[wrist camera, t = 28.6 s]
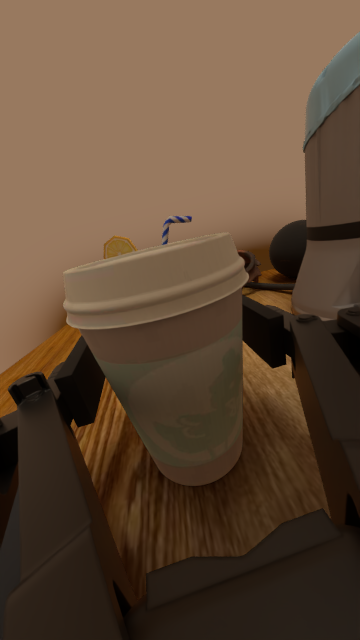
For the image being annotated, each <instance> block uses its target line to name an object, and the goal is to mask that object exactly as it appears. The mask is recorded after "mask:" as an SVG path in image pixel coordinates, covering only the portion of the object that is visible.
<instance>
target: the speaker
mask: <svg viewBox="0 0 360 640" xmlns="http://www.w3.org/2000/svg"><path fill="white" fill-rule="evenodd" d="M306 247H307V223H306V220H299V221H295V222H292V223H290V224H288V225H286V226H285V227H283V228H282V229H281V230H279V232H278V233H277V234H276V235H275V237H274V238H273V240H272V243H271V245H270V250H269V254H270V260H271V263H272V265H273V266H274V268H275V269H276V270H277V271H278V272H279V273H281V274H283V275H285V276H288V277H294V278H297V277H298V274H299V271H300V267H301V264H302V261H303V258H304V255H305V252H306Z"/></svg>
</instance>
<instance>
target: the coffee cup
mask: <svg viewBox="0 0 360 640" xmlns="http://www.w3.org/2000/svg"><path fill="white" fill-rule="evenodd" d="M244 265H245V261H244V259H243V258H242V257H240V256H239V255H238V252H237V250H236V247H235V245H234V242H233V240H232V237H231V235H230V233H227V232H226V233H218V234H212V235H207V236H202V237H197V238H192V239H188V240H183V241H179V242H174V243H169V244H165V245H160V246H156V247H152V248H148V249H143V250H140V251H135V252H131V253H127V254H123V255H119V256H115V257H111V258H108V259H104V260H100V261H97V262H93V263H89V264H86V265H82V266H79V267H76V268H72V269H69V270H67V271H65V272H64V273H63V278H64V286H65V295H66V300H65V301H64V304H63V306H64V309H65V310H66V311H67V316H68V317H67V323H68V324H69V325H70V326H72V327H75V328H79V330H80V332H81V334H82V336H83V337H84V339H85V341H86V343H87V344H88V346H89V348H90V350H91V352H92V353H93V355H94V357H95V359H96V360H97V362H98V364H99V366H100V368H101V369H102V371H103V373H104V375H105V376H106V378H107V380H108V382H109V383H110V385H111V387H112V389H113V390H114V392H115V394H116V396H117V397H118V399H119V401H120V403H121V404H122V406H123V408H124V410H125V411H126V413H127V415H128V417H129V418H130V420H131V422H132V424H133V425H134V427H135V429H136V431H137V432H138V434H139V436H140V438H141V439H142V441H143V443H144V445H145V446H146V448H147V450H148V452H149V453H150V455H151V457H152V458H153V460H154V462H155V464H156V465H157V467H158V469H159V470H160V471H161V473H162V474H163V475H164V476H165V477H167V478H168V479H170V480H171V481H173V482H175V483H178V484H181V485H187V486H200V485H205V484H209V483H212V482H214V481H216V480H218V479H220V478H221V477H223V476H224V475H226V474H227V473H228V472H229V471H230V470H231V469H232V468H233V467H234V465H235V464H236V462H237V461H238V459H239V456H240V454H241V451H242V445H243V358H242V286H243V285H244V284H245V283H246V282H247V281H248V279H249V274H248V273H247V272H246V271H245V268H244Z"/></svg>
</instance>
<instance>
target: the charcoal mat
mask: <svg viewBox="0 0 360 640" xmlns="http://www.w3.org/2000/svg"><path fill="white" fill-rule="evenodd" d="M88 472H89V471H88ZM19 583H20V527H19V486H18V489H17V493H16V496H15V500H14V503H13V507H12V510H11V514H10V517H9V521H8V524H7V528H6V531H5V535H4V539H3V542H2V546H1V549H0V640H3V621H4V610H5V602H6V599H7V597H8V594H9V592H10V591H11V590H12V589H14V588H15V587H16V586H17V585H18V584H19Z"/></svg>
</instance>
